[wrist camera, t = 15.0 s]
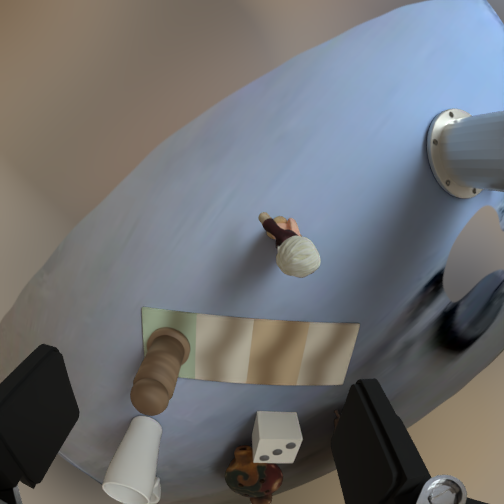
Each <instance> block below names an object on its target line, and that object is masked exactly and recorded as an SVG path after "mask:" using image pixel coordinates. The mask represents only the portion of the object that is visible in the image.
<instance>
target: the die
mask: <svg viewBox="0 0 504 504" xmlns="http://www.w3.org/2000/svg"><path fill="white" fill-rule="evenodd" d="M302 440H303V438H302V434H301V430H300V425H299V421H298V417H297V413H296V412H270V411H257V415H256V419H255V423H254V428H253V432H252V449H253V463H293V462H294V460H295V457H296V455H297V452H298V450H299V448H300V445H301V443H302Z"/></svg>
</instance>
